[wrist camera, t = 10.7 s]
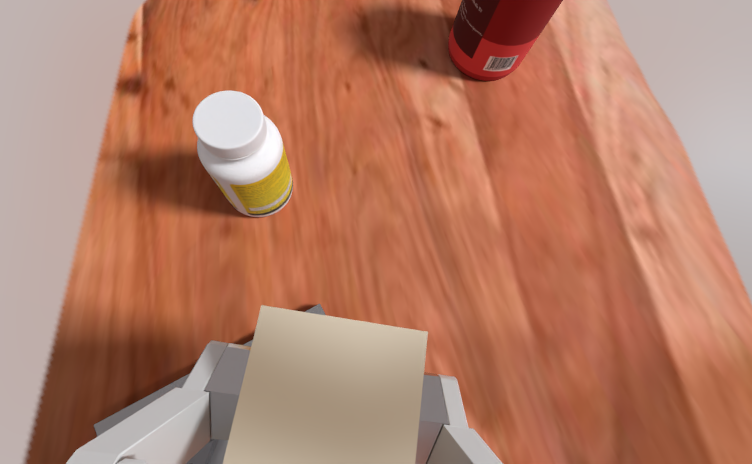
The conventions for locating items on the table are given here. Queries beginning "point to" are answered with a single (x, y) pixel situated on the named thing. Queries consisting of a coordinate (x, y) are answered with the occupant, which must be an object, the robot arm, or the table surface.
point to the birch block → (328, 392)
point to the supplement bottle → (243, 153)
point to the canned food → (496, 35)
